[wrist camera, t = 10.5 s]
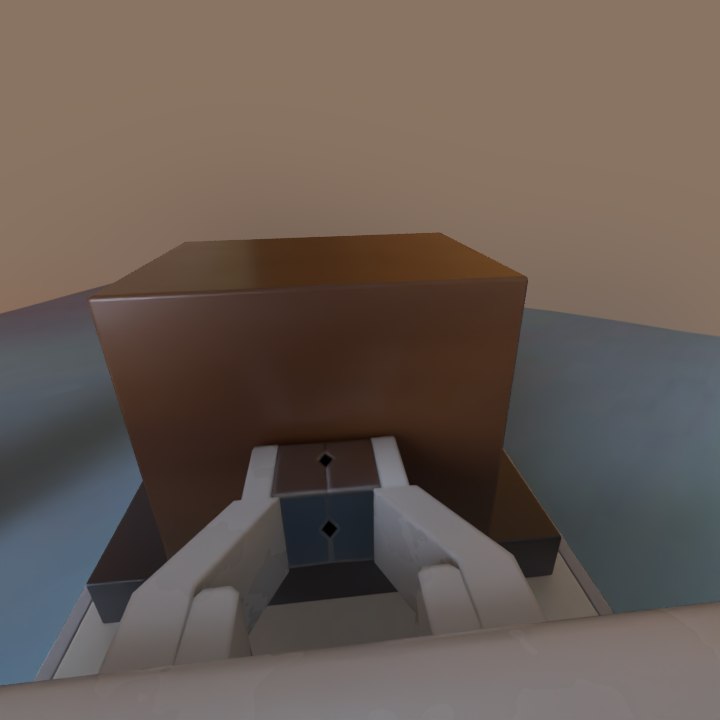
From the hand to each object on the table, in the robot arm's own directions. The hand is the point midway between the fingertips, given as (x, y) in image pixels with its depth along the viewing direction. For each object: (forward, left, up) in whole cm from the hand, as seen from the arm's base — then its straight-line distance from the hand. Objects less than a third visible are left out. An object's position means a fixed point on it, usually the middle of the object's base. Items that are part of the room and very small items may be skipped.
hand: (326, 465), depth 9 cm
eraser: (0, -3, -5) cm, 5 cm away
